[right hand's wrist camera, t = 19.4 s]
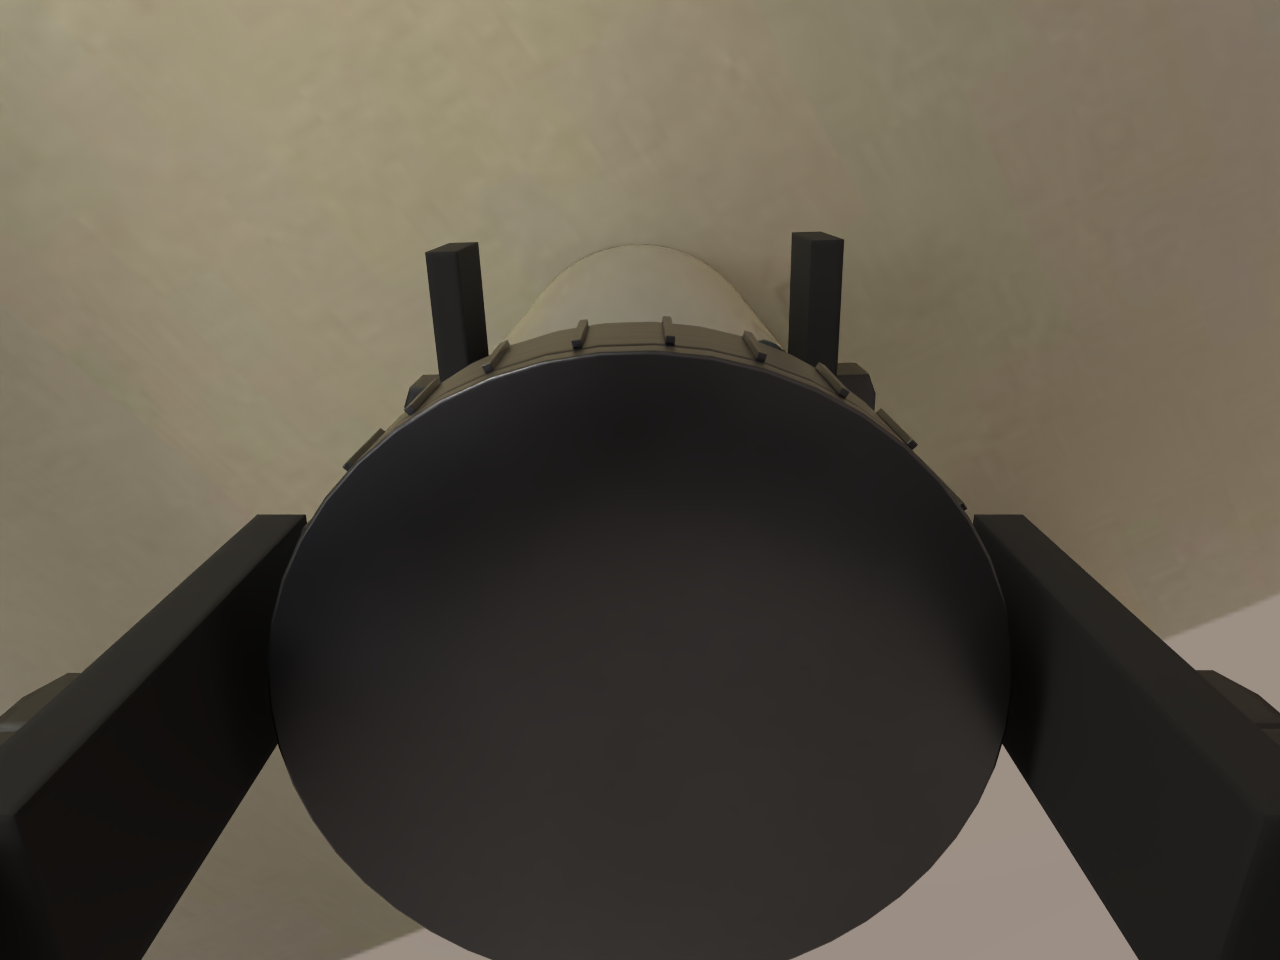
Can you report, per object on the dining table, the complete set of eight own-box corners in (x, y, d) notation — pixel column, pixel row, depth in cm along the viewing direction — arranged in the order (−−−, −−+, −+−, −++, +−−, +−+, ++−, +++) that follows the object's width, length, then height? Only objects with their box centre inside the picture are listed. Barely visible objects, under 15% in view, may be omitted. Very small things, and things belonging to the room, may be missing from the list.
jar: (811, 381, 29) (1078, 708, 11) (630, 529, 31) (616, 1007, 13) (651, 188, 26) (673, 222, 9) (466, 360, 28) (191, 663, 11)
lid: (800, 177, 10) (835, 180, 8) (1050, 745, 13) (1116, 839, 11) (183, 515, 12) (98, 579, 10) (528, 957, 14) (512, 1070, 13)
